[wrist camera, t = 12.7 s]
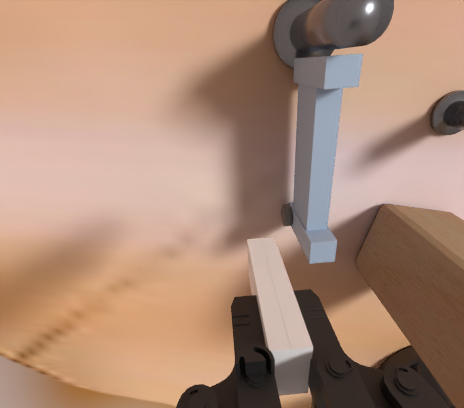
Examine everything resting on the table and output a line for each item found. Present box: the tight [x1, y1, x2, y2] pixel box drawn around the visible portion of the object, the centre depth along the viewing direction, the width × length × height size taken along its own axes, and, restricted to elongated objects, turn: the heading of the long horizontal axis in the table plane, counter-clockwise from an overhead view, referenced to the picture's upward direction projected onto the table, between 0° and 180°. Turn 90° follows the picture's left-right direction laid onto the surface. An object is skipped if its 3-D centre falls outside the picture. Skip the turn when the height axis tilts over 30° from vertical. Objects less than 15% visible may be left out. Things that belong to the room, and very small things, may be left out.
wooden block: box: [356, 204, 464, 408], centre depth 27 cm, size 10×10×20 cm
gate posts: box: [273, 0, 464, 135], centre depth 22 cm, size 6×23×11 cm, turn 66°
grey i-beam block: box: [281, 54, 363, 264], centre depth 25 cm, size 17×3×8 cm, turn 4°
